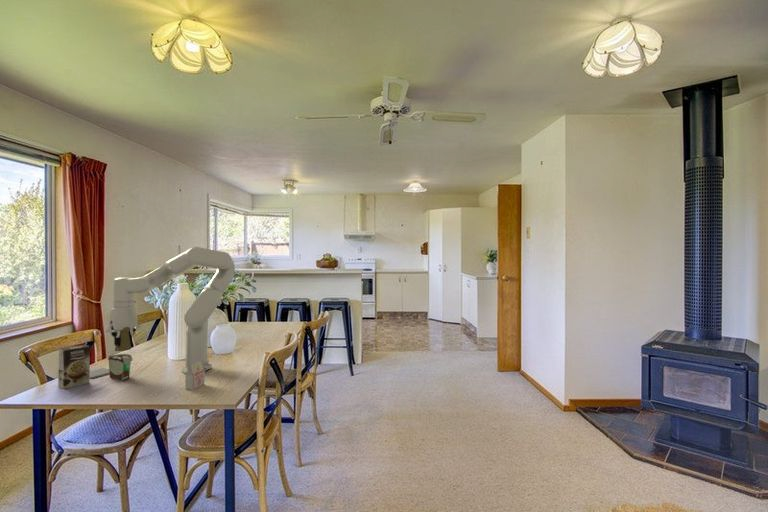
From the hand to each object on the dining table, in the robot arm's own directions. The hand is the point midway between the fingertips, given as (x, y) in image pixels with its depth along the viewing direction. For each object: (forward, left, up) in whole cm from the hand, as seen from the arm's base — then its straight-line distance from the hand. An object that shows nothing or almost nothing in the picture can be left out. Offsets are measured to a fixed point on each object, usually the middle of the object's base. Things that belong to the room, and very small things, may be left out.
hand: (123, 344), depth 165 cm
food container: (0, 0, -15) cm, 15 cm away
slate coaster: (+16, +2, -15) cm, 22 cm away
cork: (0, 0, -2) cm, 2 cm away
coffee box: (+10, +14, -15) cm, 23 cm away
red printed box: (-39, -6, -15) cm, 42 cm away
